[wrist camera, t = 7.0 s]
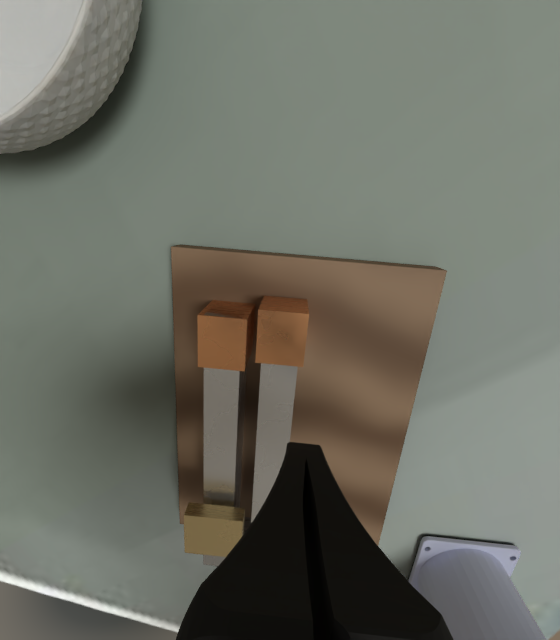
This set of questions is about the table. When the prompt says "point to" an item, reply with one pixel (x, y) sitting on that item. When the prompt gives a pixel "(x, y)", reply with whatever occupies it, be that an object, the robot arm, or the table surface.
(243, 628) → the robot arm
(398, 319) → the board
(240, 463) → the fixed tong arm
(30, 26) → the cereal bowl
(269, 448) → the tong arm
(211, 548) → the tab
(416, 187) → the table surface
